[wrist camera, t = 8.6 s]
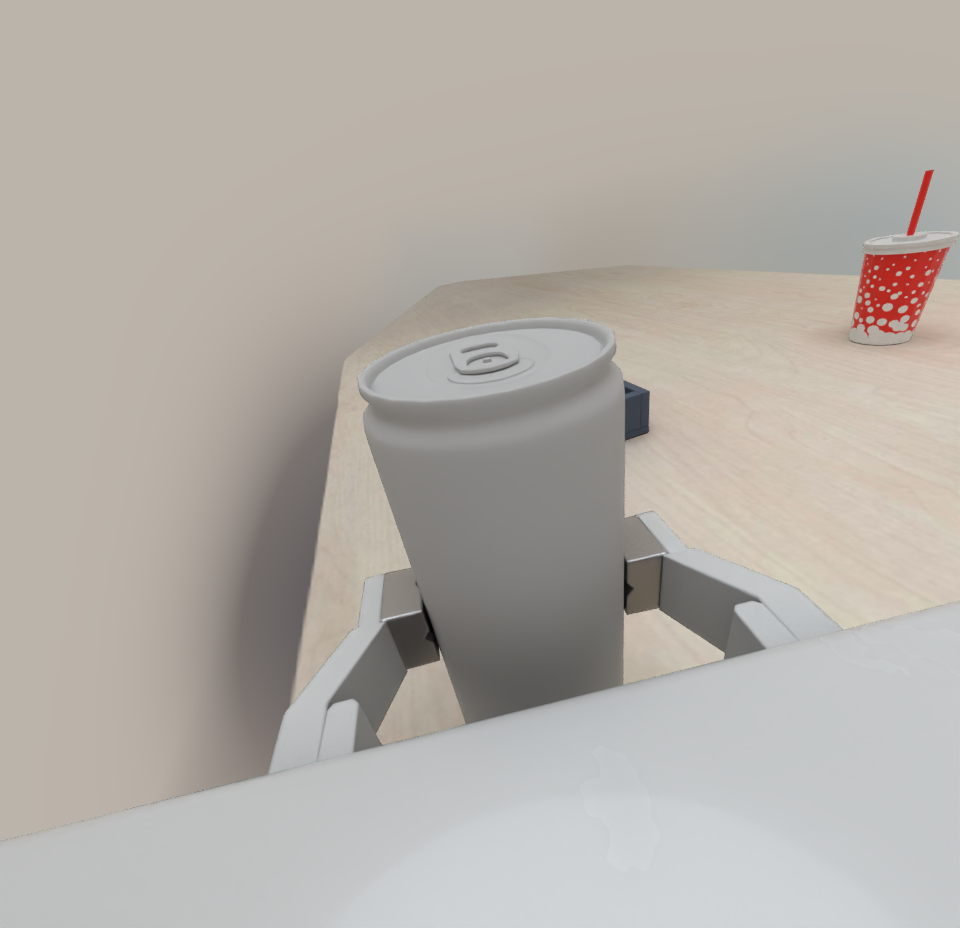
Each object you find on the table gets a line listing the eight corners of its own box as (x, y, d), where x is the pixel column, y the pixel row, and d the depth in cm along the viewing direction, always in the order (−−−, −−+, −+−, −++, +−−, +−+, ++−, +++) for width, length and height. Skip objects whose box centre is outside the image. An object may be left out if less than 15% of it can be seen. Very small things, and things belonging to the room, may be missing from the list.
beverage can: (484, 829, 11) (325, 435, 5) (463, 667, 15) (362, 347, 9) (653, 782, 11) (691, 354, 5) (587, 635, 15) (567, 304, 10)
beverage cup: (920, 348, 37) (987, 163, 31) (834, 346, 41) (876, 181, 34) (923, 329, 41) (983, 159, 34) (843, 328, 45) (882, 176, 38)
